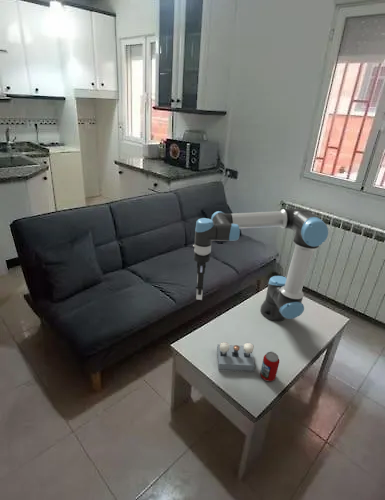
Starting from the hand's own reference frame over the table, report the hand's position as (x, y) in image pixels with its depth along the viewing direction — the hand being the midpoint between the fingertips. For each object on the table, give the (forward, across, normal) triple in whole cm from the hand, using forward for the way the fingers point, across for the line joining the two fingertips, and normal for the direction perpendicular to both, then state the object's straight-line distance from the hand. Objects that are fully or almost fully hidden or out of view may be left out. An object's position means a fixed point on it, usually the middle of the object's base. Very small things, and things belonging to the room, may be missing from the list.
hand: (199, 290), depth 149 cm
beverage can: (+26, +26, +33) cm, 49 cm away
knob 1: (+21, +18, +13) cm, 31 cm away
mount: (+26, +18, +19) cm, 36 cm away
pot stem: (+21, +18, +19) cm, 33 cm away
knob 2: (+21, +18, +24) cm, 37 cm away
